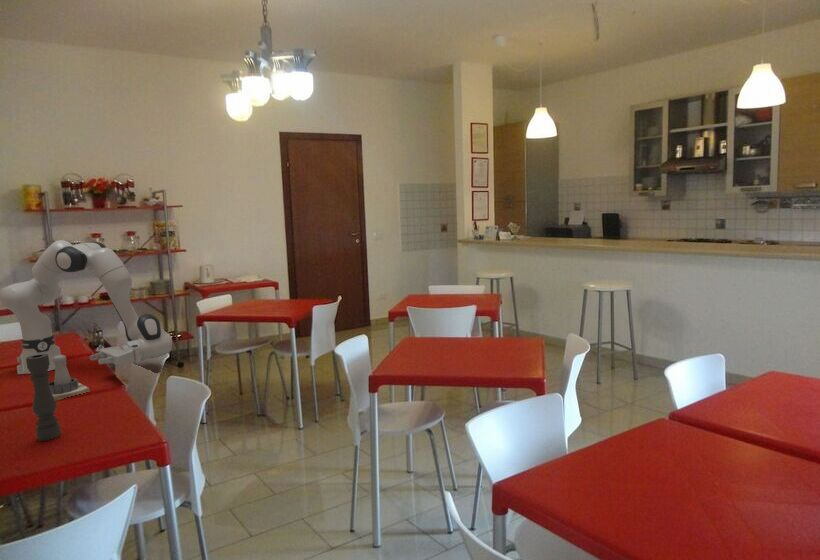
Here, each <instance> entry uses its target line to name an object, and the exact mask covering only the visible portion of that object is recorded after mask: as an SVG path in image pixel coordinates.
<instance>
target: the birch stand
mask: <svg viewBox="0 0 820 560" xmlns="http://www.w3.org/2000/svg"><path fill="white" fill-rule="evenodd" d="M78 386H79V387H78V388H77V389H76V390H73V391H71V392H67V393H62V394H52V395H53V397H54V400H55V402H57V401H61V400H64V398H65V399H68V398H67V397H69V398H72V397H71V396H73V397H76V396H75V395H77V396H80V395H79V394H81V395H84V394H83V393H85V394H87V393H86V392H89V393H90V391H91V390H90V387H88V386H86V385H84V384H82V383H80V382H79V381H78Z"/></svg>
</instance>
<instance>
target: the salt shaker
mask: <svg viewBox="0 0 820 560" xmlns="http://www.w3.org/2000/svg"><path fill="white" fill-rule="evenodd" d="M53 362H54V363H55V369H54V380H53V381H54V386H56V385H63V384H67V383H70V382H72V380H71V378H72V377H71V376H70V372H69V370H68V367H67V364H65V362H67V356H66V355H64V354H61V355H58V356H55V357H53Z"/></svg>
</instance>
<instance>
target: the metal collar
mask: <svg viewBox="0 0 820 560" xmlns="http://www.w3.org/2000/svg"><path fill="white" fill-rule="evenodd" d="M70 378H71V380H72V382H70V383H67V384H63V385H56V386H54V380H52V381H49V388H50V391H51V393H52V394H62V393H67V392H71V391H73V390H76V389H77V388H78V387H79V386H78V382H79V380H78V378H76V377H70Z"/></svg>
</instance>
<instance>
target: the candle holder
mask: <svg viewBox="0 0 820 560" xmlns="http://www.w3.org/2000/svg"><path fill="white" fill-rule="evenodd" d="M26 363H27V369H29V372H31V374H30V375H31V376H30V377H29V380H30V381H32V384H33V388H34V389H33V390H34V394H33V403H32V411H33V413H34V414H35V415H36V417H37V421H36V422H35V425H36V427H35V433H36V440H37V441H40V442H44V441H45V442H46V440H47V441H51V440H53V439H54V438H55V439H57V438H59V437H60V436H61V435H62V432H61V425H60V422H58V421H59V419H58V417H56V416H55V412H56V410H57V408H58V407H57V406H58V405H57V401H55V400H54V397H53V395H52V393H51V391H50V388H49V382H50V381H49V379H50V377H51V374H50V373H49V371H48V369H49V365H50V363H49V357H48V354H37V355H32V356H29V357H27V358H26ZM58 436H59V437H58ZM56 437H57V438H56ZM50 439H51V440H50Z"/></svg>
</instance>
